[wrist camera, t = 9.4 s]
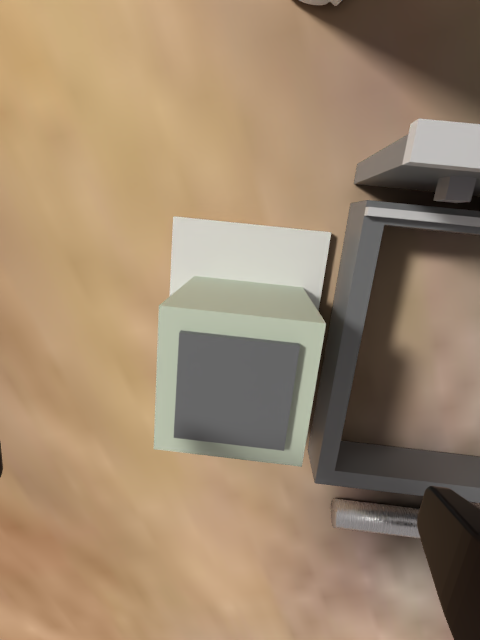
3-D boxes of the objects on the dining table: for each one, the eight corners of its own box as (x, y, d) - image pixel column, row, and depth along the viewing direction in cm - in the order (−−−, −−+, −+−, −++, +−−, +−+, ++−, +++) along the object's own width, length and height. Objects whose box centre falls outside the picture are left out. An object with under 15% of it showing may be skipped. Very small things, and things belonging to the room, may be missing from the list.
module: (302, 287, 16) (327, 326, 10) (287, 386, 18) (302, 471, 12) (194, 275, 16) (156, 307, 10) (188, 375, 18) (151, 453, 12)
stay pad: (329, 232, 16) (331, 232, 16) (298, 427, 19) (298, 431, 18) (175, 216, 16) (173, 216, 16) (166, 412, 19) (164, 416, 18)
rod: (554, 519, 19) (576, 541, 18) (545, 539, 20) (566, 562, 18) (333, 492, 20) (339, 512, 18) (329, 513, 20) (334, 534, 19)
